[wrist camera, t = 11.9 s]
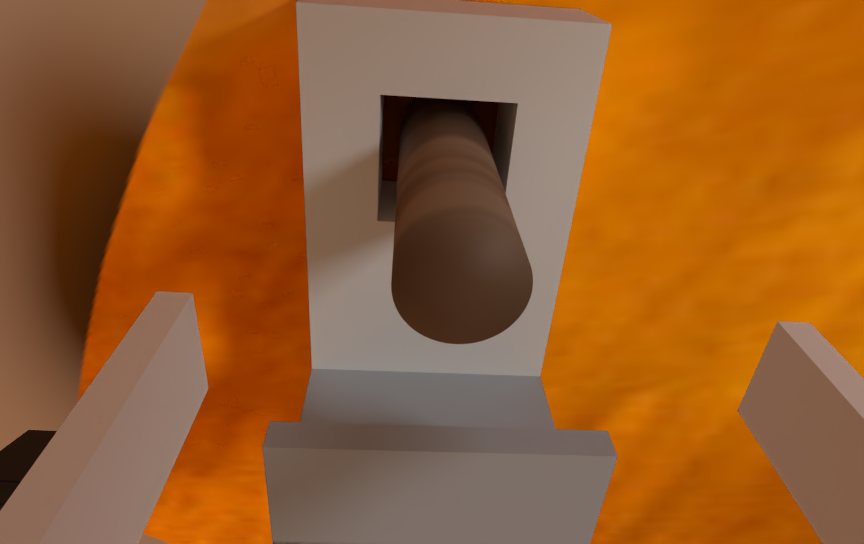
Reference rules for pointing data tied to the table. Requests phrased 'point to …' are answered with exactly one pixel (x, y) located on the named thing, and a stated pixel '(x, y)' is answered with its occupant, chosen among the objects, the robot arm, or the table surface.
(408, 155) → the dowel
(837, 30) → the table surface
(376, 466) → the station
